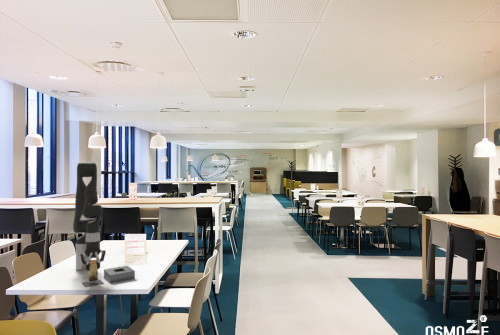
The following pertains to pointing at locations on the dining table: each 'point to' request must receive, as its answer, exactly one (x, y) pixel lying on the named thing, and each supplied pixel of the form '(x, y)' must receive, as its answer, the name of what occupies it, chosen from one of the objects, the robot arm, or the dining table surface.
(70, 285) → the dining table surface
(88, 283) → the mat
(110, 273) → the housing
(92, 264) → the brass cylinder
